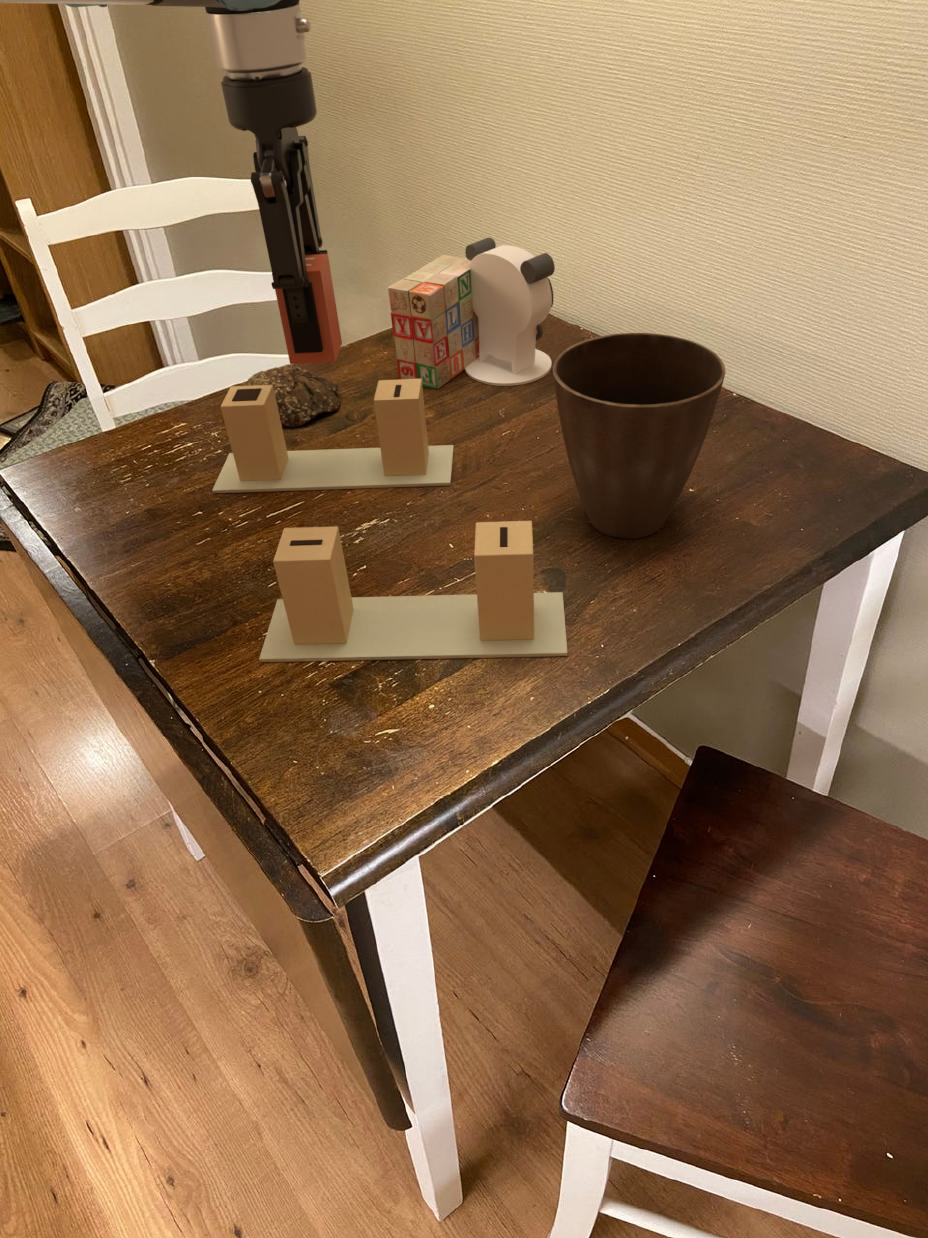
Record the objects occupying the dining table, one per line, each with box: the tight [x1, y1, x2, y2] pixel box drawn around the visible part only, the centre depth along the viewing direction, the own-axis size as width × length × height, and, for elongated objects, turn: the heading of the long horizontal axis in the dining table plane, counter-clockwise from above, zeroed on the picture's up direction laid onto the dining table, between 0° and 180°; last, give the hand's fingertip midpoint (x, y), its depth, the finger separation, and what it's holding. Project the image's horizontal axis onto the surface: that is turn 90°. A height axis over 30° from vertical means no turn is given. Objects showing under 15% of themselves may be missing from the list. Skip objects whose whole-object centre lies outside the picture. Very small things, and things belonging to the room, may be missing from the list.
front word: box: [258, 520, 569, 663], centre depth 74 cm, size 26×8×10 cm, turn 88°
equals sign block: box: [271, 254, 343, 365], centre depth 86 cm, size 5×5×9 cm
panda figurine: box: [464, 237, 556, 387], centre depth 111 cm, size 12×11×15 cm
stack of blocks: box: [387, 254, 479, 390], centre depth 115 cm, size 21×6×12 cm, turn 147°
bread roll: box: [239, 363, 341, 428], centre depth 109 cm, size 13×12×5 cm
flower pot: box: [552, 332, 727, 540], centre depth 83 cm, size 15×15×16 cm
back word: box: [211, 378, 455, 494], centre depth 95 cm, size 26×8×10 cm, turn 88°
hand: (313, 339), depth 88 cm, fingers closed on equals sign block, 5 cm apart
